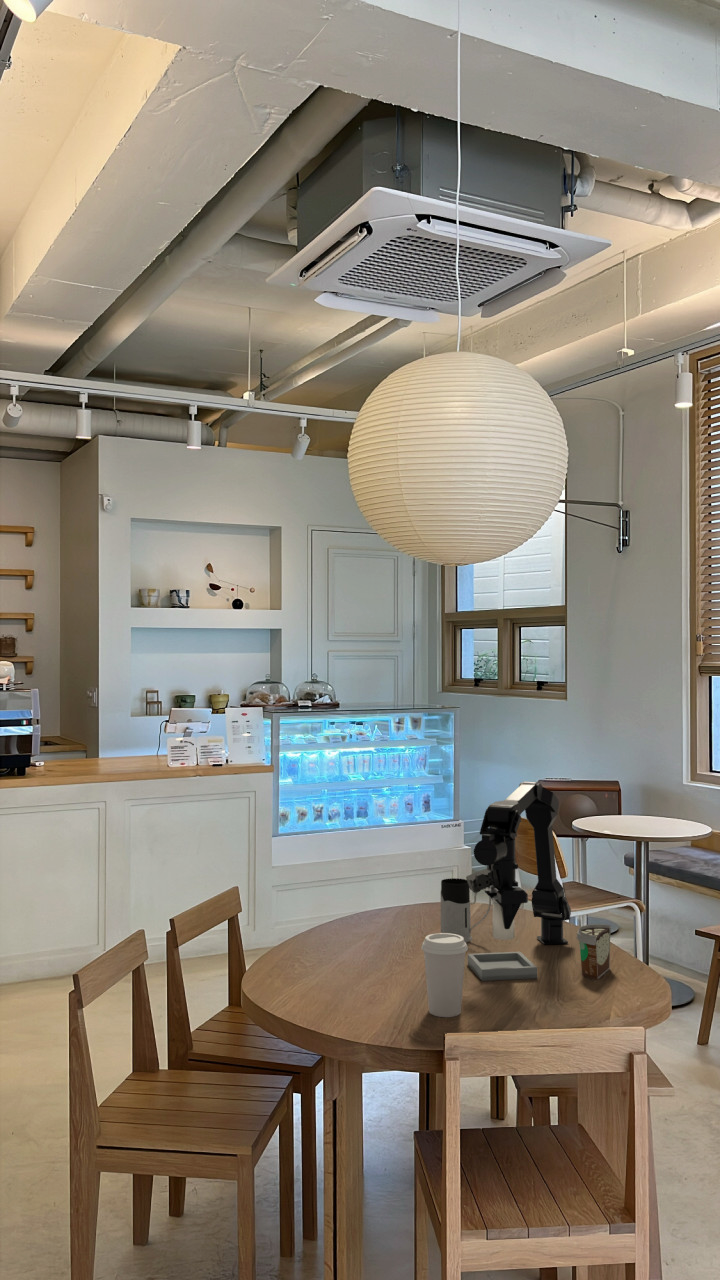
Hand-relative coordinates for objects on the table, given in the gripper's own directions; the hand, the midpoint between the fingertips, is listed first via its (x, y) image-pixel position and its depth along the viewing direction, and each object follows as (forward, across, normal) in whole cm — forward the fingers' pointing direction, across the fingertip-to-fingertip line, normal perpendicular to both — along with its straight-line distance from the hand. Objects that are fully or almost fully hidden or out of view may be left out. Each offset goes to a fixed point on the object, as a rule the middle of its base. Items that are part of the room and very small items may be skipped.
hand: (503, 926), depth 226 cm
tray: (+11, -2, 0) cm, 11 cm away
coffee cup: (+11, +24, -20) cm, 33 cm away
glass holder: (+11, -30, -2) cm, 32 cm away
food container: (+11, +2, +20) cm, 23 cm away
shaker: (+2, 0, 0) cm, 2 cm away
